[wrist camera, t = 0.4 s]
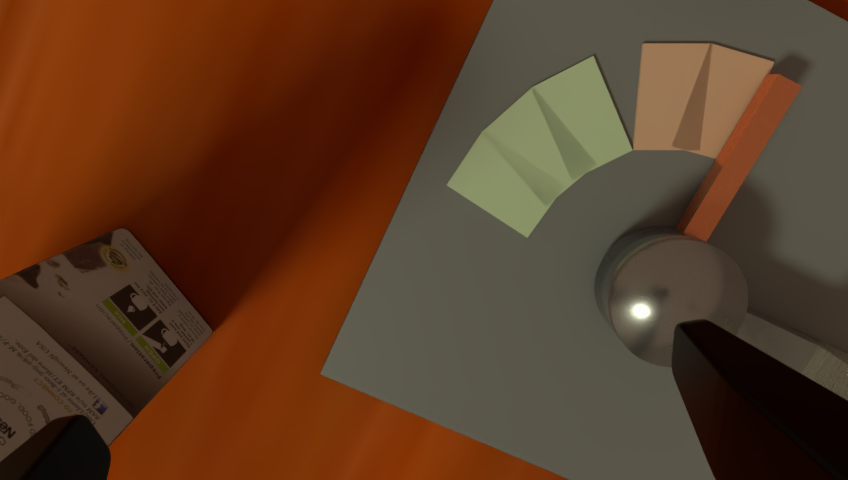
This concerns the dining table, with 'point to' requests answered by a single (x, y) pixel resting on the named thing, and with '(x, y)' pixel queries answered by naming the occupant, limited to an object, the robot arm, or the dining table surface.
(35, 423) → the coffee box
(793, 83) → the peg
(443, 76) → the dining table surface
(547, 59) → the board
